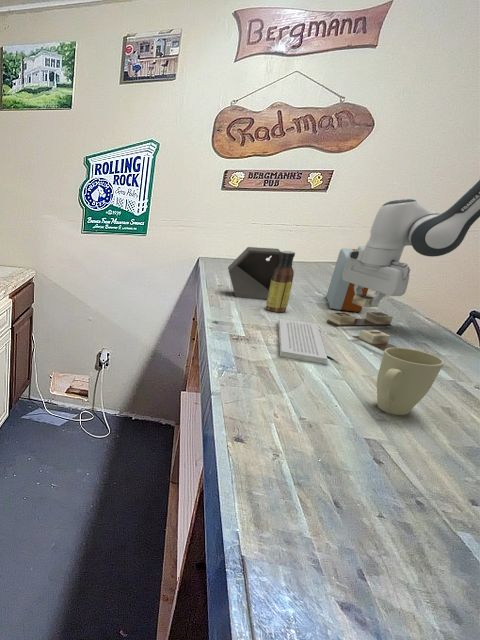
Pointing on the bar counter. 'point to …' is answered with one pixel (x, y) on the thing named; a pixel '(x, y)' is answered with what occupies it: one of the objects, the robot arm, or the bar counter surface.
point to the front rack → (375, 339)
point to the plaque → (301, 341)
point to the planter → (254, 272)
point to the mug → (405, 378)
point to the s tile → (363, 300)
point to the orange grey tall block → (343, 286)
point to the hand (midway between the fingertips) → (365, 302)
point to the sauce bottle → (281, 283)
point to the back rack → (369, 320)
